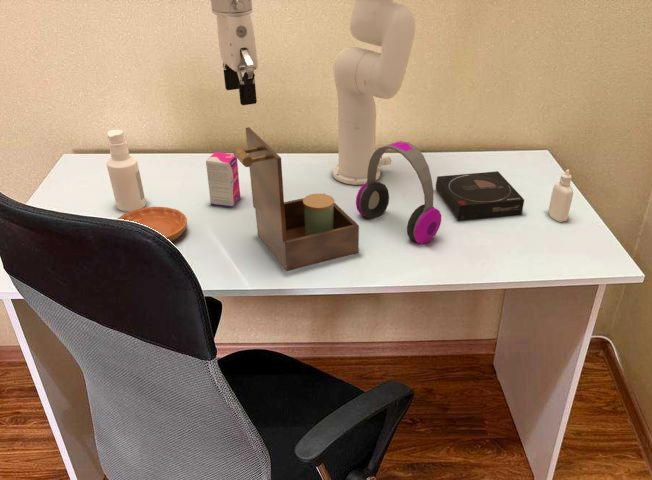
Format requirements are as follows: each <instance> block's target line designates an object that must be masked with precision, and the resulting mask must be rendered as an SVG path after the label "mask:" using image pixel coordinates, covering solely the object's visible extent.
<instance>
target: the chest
mask: <svg viewBox="0 0 652 480" xmlns="http://www.w3.org/2000/svg"><path fill="white" fill-rule="evenodd" d="M304 198H305V197H302V198H297V199H291V200H288V201H284V211H285V226H286V241H282V240H281V239H280V238H279V236H278V235H277V234H276V233H275V232H274V230H273V229H272V228H271V227H270V226H269V225H268V223H267V222H266V221H265V220H264V219H263V218H262V216H261V215H260V214H259V213H258V212H257V210H256V209H255V208H254V210H255V221H256V232H257V236H258V237H259V238H260V240H261V241H262V242H263V244H264V245H265V246H266V247H267V248H268V249H269V251H270V252H271V253H272V255H273V256H274V257H275V259H276V260H277V261H278V262H279V264H281V266H282V267H283V268H284V270H285V271H286V272H289V271H292V270H296V269H300V268H303V267H309V266H311V265H315V264H319V263H323V262H324V263H325V262H327V261H332V260H335V259H340V258H343V257H348V256H351V255H355V254H359V251H360V250H359V249H360V247H359V245H360V236H359V235H360V225H359V224H358V223H357V222H356V221H355V220H354V219H353V218H352V217H350V216H349V215H348V213H346V212H345V211H344V210H343V209H342V208H341V207H340V206H339V205H338V204H337V203H336V202H334V230H329V231H325V232H321V233H317V234H312V235H308V236H305V225H304V205H303V199H304Z"/></svg>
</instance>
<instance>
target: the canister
mask: <svg viewBox="0 0 652 480" xmlns="http://www.w3.org/2000/svg"><path fill="white" fill-rule="evenodd" d="M303 198H304V199H303V205H304V225H305V236H308V235H312V234H317V233H321V232H325V231H329V230H334V203H335V199H334V197H333V196H332V195H329V194H327V193H310V194H308V195H305V197H303Z"/></svg>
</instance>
